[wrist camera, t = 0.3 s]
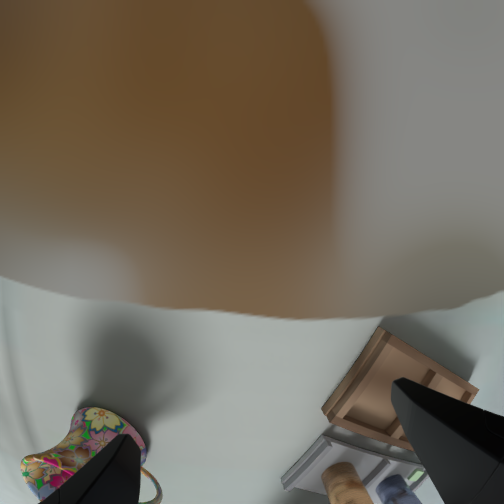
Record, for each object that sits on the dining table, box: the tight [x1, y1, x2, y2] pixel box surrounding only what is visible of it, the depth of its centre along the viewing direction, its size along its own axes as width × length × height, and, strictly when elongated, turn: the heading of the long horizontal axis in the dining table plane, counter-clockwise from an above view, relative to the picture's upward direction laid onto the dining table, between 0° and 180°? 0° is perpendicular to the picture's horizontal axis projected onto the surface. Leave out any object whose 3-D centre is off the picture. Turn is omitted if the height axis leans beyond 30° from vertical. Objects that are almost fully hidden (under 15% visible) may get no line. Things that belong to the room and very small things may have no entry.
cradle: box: [281, 435, 429, 504], centre depth 23 cm, size 7×18×2 cm, turn 58°
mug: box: [21, 407, 162, 504], centre depth 18 cm, size 12×9×11 cm
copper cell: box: [321, 462, 374, 504], centre depth 19 cm, size 4×4×7 cm
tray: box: [321, 327, 479, 452], centre depth 23 cm, size 9×16×2 cm, turn 58°
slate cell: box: [375, 474, 422, 504], centre depth 20 cm, size 4×4×7 cm
